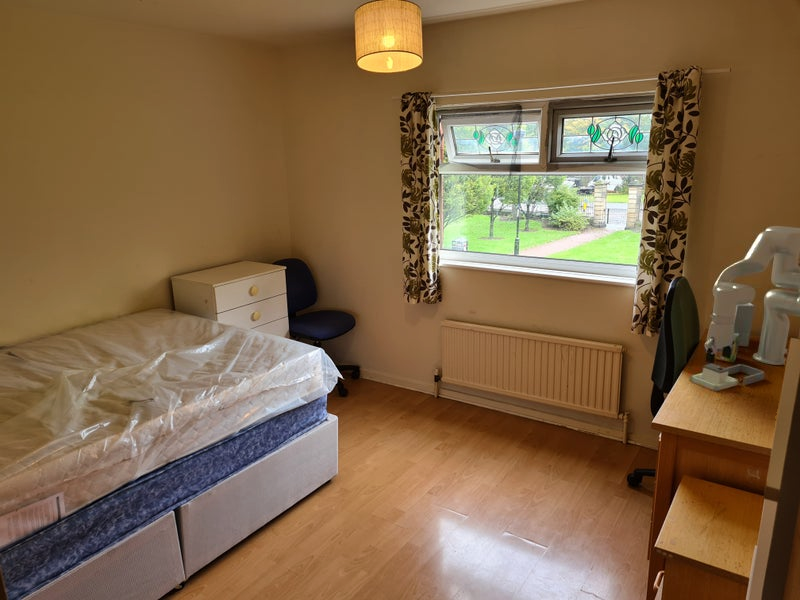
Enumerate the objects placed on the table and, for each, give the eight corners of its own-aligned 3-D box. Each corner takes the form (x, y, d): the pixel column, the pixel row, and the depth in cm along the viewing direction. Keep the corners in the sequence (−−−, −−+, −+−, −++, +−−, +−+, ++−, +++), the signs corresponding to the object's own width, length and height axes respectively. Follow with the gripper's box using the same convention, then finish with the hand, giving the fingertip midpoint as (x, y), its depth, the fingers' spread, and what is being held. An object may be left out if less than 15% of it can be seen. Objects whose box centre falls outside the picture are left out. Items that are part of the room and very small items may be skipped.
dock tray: (711, 374, 224) (711, 370, 223) (737, 384, 214) (738, 380, 213) (689, 380, 218) (690, 376, 218) (715, 391, 208) (716, 386, 208)
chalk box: (713, 352, 248) (718, 321, 244) (737, 357, 242) (742, 325, 238) (709, 358, 241) (714, 327, 237) (733, 363, 235) (738, 330, 232)
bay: (739, 370, 228) (741, 363, 227) (764, 379, 219) (766, 372, 218) (720, 376, 222) (721, 369, 222) (744, 385, 213) (745, 378, 213)
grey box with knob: (709, 377, 220) (712, 361, 218) (726, 383, 214) (728, 367, 212) (701, 379, 218) (703, 364, 216) (718, 385, 212) (720, 370, 210)
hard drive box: (748, 347, 254) (755, 306, 249) (730, 346, 256) (737, 305, 251) (736, 336, 269) (742, 297, 264) (719, 335, 271) (724, 296, 265)
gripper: (728, 312, 216) (723, 352, 221) (699, 320, 209) (694, 361, 214) (747, 317, 209) (741, 358, 214) (717, 325, 202) (712, 367, 207)
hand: (718, 359), depth 214 cm, fingers open, 9 cm apart
